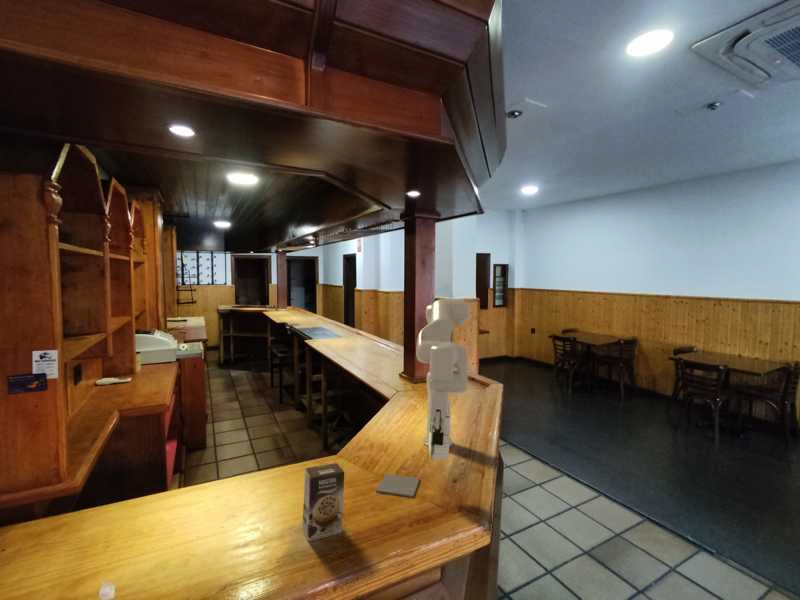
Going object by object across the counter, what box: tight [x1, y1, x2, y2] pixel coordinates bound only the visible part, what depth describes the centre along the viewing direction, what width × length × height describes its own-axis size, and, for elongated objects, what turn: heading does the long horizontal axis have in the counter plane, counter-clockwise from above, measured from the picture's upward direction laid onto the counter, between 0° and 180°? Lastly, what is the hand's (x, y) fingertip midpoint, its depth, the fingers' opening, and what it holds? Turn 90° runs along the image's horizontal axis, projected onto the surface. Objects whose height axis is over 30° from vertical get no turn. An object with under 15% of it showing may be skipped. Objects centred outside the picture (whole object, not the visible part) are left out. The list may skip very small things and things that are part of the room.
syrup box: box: [428, 411, 452, 460], centre depth 120 cm, size 6×6×14 cm
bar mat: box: [375, 473, 421, 498], centre depth 124 cm, size 12×12×1 cm
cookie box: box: [302, 462, 345, 542], centre depth 99 cm, size 9×6×16 cm
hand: (439, 439), depth 120 cm, fingers closed on syrup box, 6 cm apart
